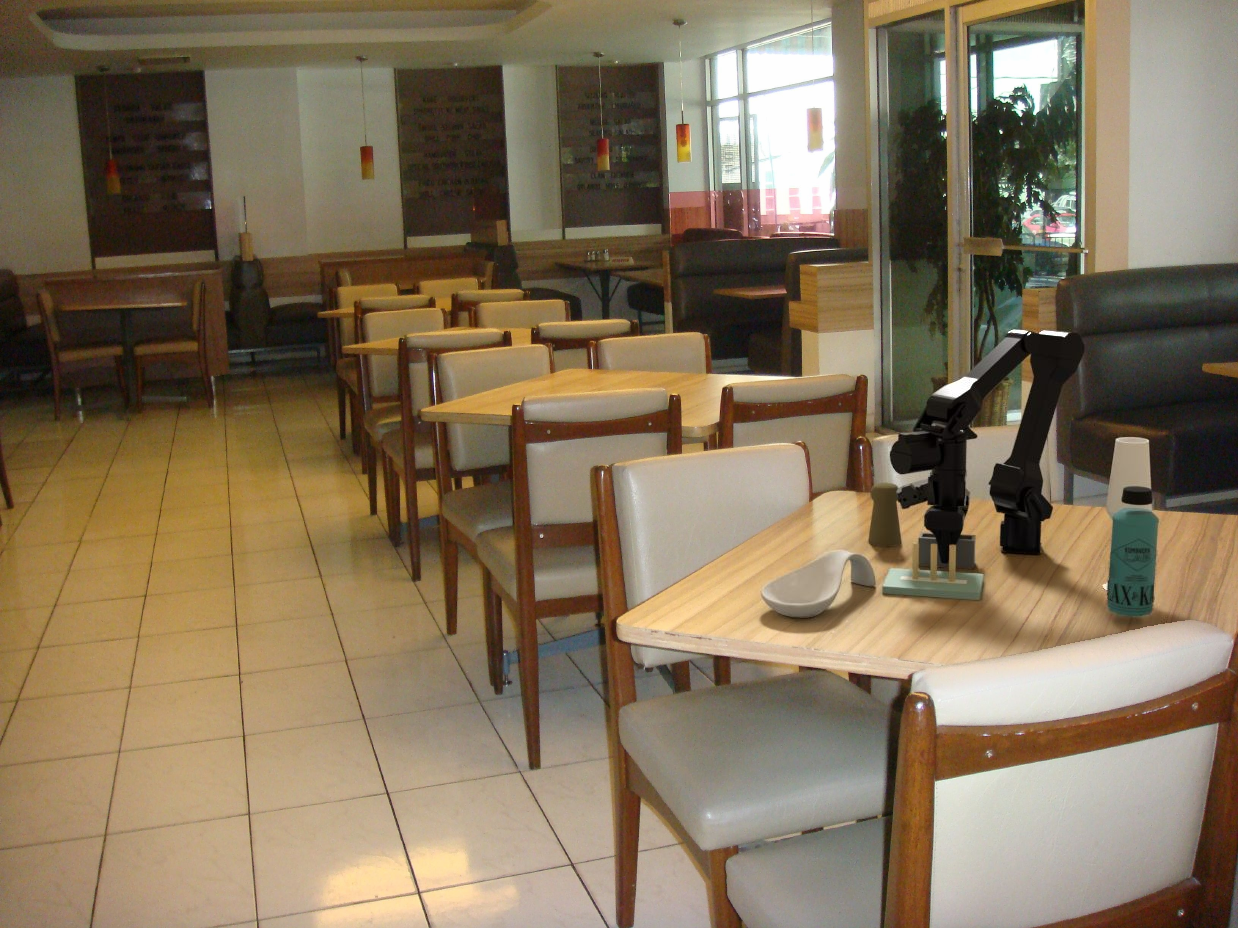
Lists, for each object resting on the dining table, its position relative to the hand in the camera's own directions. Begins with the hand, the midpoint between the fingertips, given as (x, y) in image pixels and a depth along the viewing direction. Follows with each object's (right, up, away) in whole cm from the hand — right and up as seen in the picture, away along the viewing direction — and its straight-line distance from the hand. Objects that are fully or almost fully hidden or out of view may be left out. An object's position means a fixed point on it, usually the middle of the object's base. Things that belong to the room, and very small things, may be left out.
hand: (946, 555), depth 207 cm
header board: (-5, -4, -11) cm, 13 cm away
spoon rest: (-24, -7, -16) cm, 30 cm away
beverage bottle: (+19, -7, -29) cm, 36 cm away
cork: (-7, +1, +15) cm, 17 cm away
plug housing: (0, -2, 0) cm, 2 cm away
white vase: (+24, -4, -15) cm, 29 cm away
